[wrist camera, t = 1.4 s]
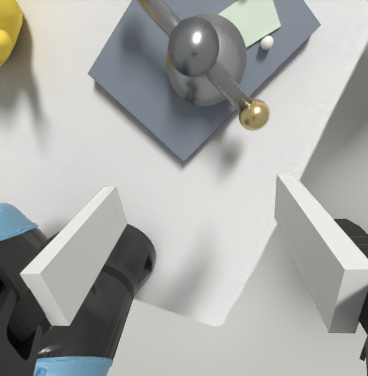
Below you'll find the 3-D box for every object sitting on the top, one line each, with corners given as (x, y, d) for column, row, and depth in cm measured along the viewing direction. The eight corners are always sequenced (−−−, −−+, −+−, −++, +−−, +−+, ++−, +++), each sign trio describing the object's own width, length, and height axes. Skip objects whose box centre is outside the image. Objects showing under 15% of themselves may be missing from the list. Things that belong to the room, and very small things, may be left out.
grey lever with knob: (103, 16, 25) (72, -2, 20) (151, -69, 22) (131, -121, 16) (229, 143, 30) (233, 158, 25) (285, 90, 27) (305, 94, 21)
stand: (185, 157, 34) (183, 164, 31) (94, 73, 30) (82, 73, 27) (313, 28, 26) (326, 22, 23) (210, -112, 22) (210, -141, 19)
